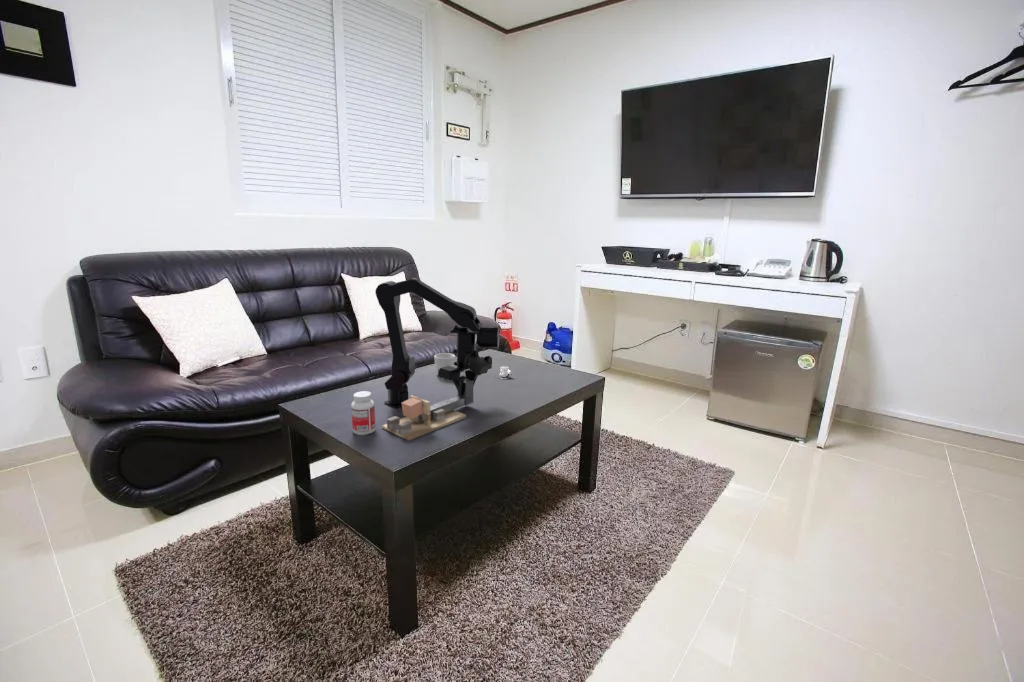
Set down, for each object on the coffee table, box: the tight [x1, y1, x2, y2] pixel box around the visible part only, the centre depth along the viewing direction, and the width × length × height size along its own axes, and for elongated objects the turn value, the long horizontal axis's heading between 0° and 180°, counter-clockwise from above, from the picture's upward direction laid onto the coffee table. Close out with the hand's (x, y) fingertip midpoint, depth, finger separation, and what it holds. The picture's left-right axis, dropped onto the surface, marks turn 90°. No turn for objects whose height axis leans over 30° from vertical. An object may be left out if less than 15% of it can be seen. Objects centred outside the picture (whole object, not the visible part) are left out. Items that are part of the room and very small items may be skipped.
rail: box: [381, 394, 467, 442], centre depth 139 cm, size 12×22×8 cm, turn 141°
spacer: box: [401, 397, 423, 419], centre depth 135 cm, size 4×4×4 cm
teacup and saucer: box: [499, 365, 512, 378], centre depth 185 cm, size 9×8×4 cm
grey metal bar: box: [411, 378, 474, 423], centre depth 144 cm, size 4×22×8 cm, turn 141°
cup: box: [433, 352, 457, 376], centre depth 184 cm, size 11×8×8 cm
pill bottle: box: [350, 390, 376, 436], centre depth 132 cm, size 6×6×11 cm
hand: (465, 393), depth 152 cm, fingers closed on grey metal bar, 3 cm apart
